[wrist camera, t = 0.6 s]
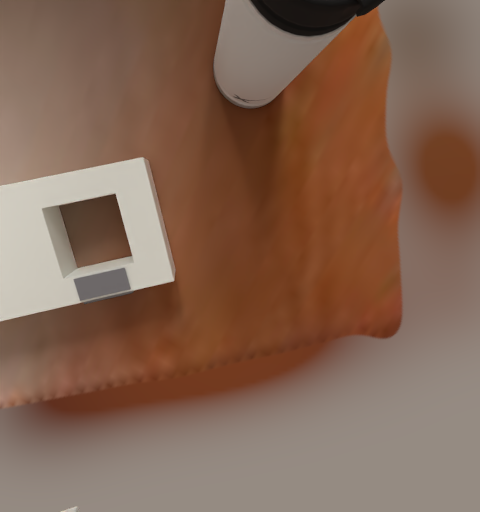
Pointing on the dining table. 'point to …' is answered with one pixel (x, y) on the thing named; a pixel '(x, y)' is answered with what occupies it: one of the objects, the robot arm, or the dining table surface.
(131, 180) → the socket board
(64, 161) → the dining table surface
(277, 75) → the travel mug
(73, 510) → the robot arm
